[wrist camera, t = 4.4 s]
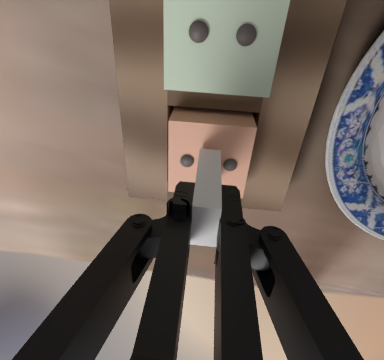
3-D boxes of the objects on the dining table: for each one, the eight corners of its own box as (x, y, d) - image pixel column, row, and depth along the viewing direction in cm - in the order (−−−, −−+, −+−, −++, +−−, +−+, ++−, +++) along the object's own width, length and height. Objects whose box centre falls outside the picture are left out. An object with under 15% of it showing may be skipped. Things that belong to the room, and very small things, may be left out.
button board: (97, -359, 11) (63, -461, 9) (430, -356, 11) (493, -466, 8) (137, 179, 27) (128, 196, 24) (274, 192, 26) (280, 211, 24)
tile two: (176, -35, 15) (162, -49, 12) (279, -29, 15) (299, -41, 11) (174, 73, 19) (163, 89, 15) (259, 80, 18) (269, 98, 15)
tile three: (177, 101, 21) (168, 121, 18) (250, 107, 21) (257, 128, 17) (175, 164, 25) (168, 192, 21) (239, 170, 25) (242, 199, 21)
